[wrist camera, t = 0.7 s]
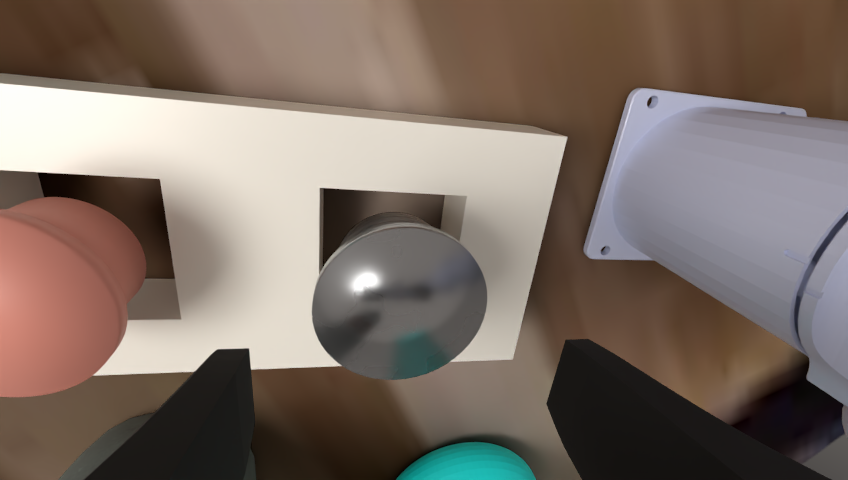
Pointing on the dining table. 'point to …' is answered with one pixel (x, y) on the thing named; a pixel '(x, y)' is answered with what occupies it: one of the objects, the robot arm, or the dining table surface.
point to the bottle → (112, 442)
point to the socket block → (276, 205)
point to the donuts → (469, 464)
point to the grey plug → (398, 298)
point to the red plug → (62, 292)
